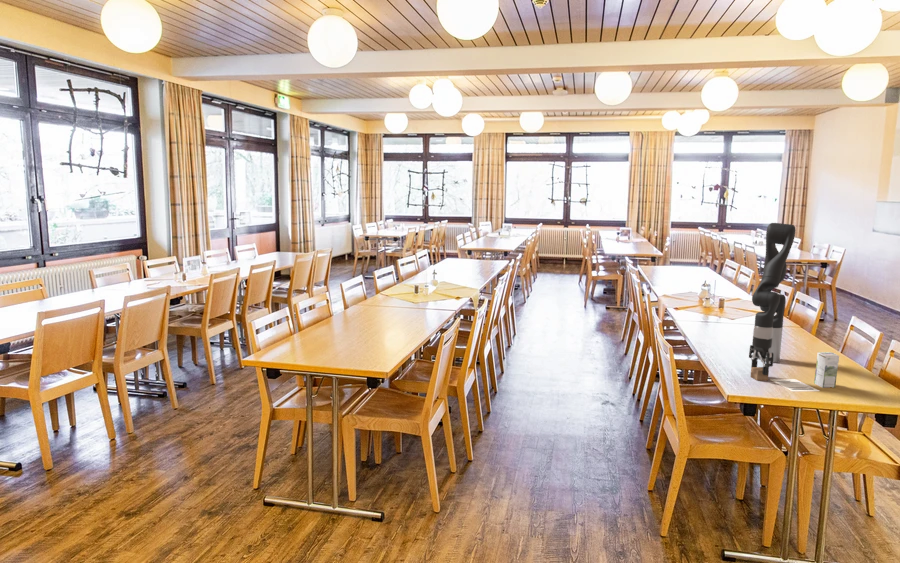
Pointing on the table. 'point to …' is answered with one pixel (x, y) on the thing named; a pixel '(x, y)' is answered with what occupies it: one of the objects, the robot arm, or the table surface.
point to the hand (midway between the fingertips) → (759, 371)
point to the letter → (793, 385)
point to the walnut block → (758, 374)
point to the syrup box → (826, 369)
